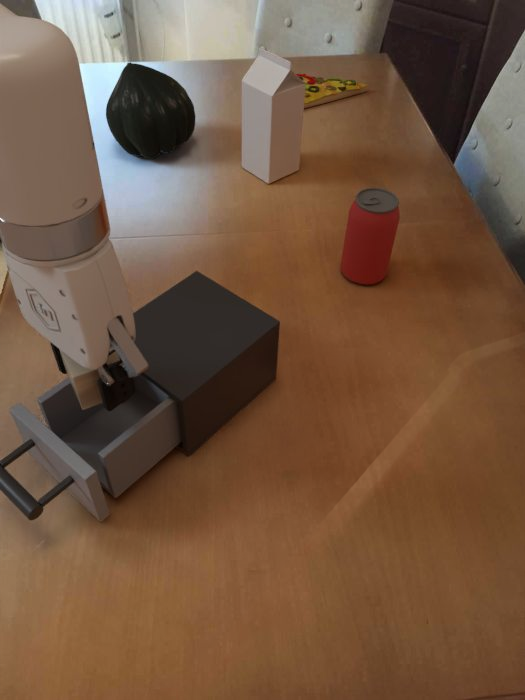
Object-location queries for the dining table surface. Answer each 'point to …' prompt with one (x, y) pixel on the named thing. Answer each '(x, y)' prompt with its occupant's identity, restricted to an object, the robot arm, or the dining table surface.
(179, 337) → the cabinet
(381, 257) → the beer can
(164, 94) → the squash
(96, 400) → the block
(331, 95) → the pizza slice
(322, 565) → the dining table surface
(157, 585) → the dining table surface
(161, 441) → the drawer
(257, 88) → the milk carton
